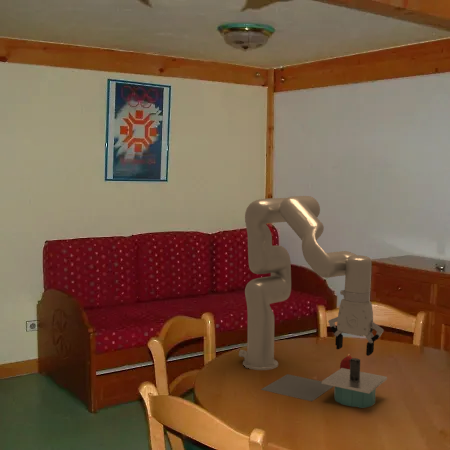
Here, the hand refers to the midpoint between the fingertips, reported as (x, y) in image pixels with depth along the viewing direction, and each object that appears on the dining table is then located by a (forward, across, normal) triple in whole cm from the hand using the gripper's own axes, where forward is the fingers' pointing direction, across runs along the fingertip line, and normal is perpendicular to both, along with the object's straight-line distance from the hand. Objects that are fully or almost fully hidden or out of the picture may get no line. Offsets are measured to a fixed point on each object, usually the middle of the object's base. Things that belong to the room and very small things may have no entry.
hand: (354, 351), depth 199 cm
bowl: (+15, +1, 0) cm, 15 cm away
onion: (+16, -9, +19) cm, 26 cm away
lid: (+9, +1, 0) cm, 9 cm away
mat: (+16, -18, 0) cm, 24 cm away
